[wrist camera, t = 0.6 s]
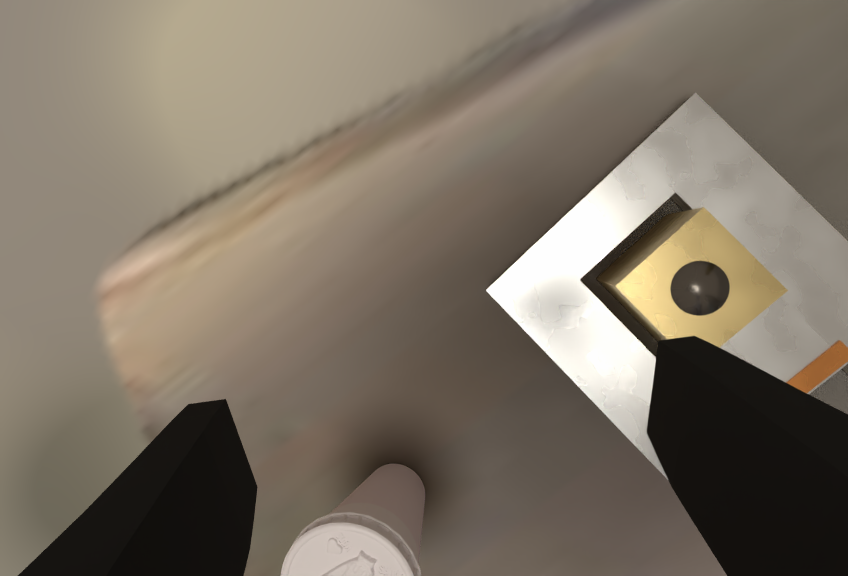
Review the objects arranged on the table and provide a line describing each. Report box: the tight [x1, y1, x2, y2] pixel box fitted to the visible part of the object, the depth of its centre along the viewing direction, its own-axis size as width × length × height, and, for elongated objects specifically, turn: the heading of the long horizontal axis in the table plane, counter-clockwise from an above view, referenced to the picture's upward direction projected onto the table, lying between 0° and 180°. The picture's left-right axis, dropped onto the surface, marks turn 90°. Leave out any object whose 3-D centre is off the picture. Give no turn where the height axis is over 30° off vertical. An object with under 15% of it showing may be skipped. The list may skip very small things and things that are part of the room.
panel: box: [486, 93, 848, 481], centre depth 28 cm, size 24×14×2 cm, turn 45°
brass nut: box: [596, 207, 788, 348], centre depth 26 cm, size 5×5×6 cm
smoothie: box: [281, 464, 425, 576], centre depth 26 cm, size 6×6×14 cm
